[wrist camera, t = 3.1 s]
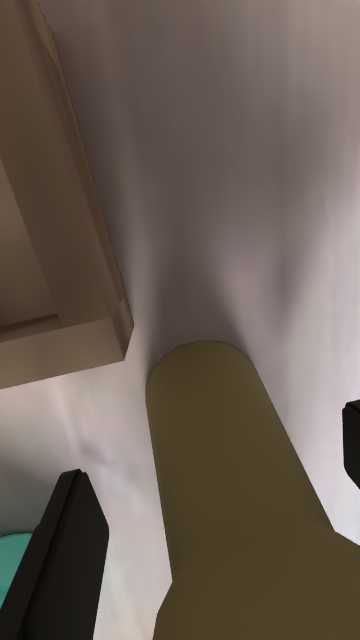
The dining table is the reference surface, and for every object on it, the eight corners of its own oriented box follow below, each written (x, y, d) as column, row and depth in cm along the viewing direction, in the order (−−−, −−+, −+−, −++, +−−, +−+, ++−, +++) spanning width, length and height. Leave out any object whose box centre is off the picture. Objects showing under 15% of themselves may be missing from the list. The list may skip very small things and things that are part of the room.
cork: (181, 319, 12) (345, 817, 2) (281, 371, 13) (745, 837, 3) (124, 417, 13) (3, 1066, 3) (221, 456, 15) (389, 1004, 4)
